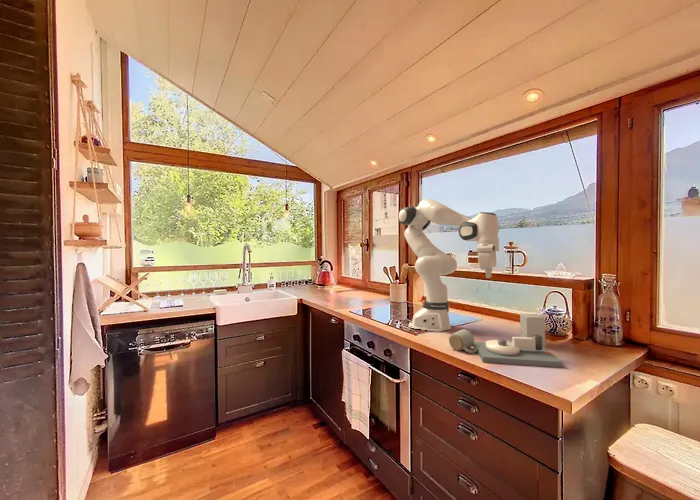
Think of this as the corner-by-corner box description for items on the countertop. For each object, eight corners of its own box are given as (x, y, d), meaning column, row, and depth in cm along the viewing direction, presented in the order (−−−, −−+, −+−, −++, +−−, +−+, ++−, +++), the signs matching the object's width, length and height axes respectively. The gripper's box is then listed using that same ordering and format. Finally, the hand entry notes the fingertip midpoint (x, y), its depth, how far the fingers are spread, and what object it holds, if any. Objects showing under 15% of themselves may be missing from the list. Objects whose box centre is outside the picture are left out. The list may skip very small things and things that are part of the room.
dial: (489, 354, 110) (489, 338, 110) (482, 343, 122) (482, 329, 122) (549, 357, 106) (548, 341, 106) (535, 346, 117) (535, 331, 117)
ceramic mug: (447, 348, 123) (447, 330, 123) (458, 344, 128) (458, 327, 128) (470, 356, 115) (470, 337, 114) (481, 351, 120) (481, 333, 119)
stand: (482, 362, 108) (482, 356, 108) (474, 346, 126) (474, 340, 126) (562, 367, 102) (562, 361, 102) (541, 349, 119) (541, 344, 119)
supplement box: (545, 347, 122) (545, 317, 122) (526, 346, 123) (526, 317, 123) (538, 341, 129) (537, 313, 129) (520, 341, 131) (519, 313, 131)
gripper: (485, 247, 141) (485, 275, 141) (475, 247, 125) (476, 279, 125) (499, 247, 138) (500, 276, 138) (491, 247, 121) (492, 280, 121)
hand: (488, 277), depth 131 cm, fingers closed
